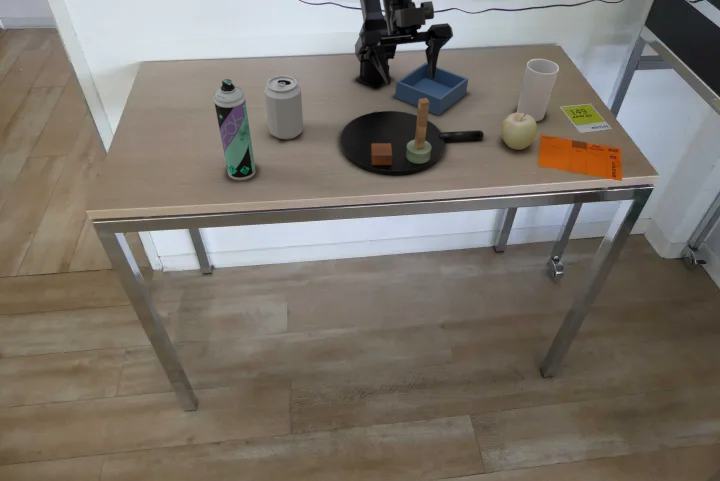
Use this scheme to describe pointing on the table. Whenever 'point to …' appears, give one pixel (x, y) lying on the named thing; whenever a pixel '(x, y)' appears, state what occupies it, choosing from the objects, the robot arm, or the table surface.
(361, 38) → the robot arm
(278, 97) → the can
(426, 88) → the bin
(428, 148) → the dish brush
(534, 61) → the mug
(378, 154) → the reddish brown square block
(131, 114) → the table surface
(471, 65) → the table surface
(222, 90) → the spray can
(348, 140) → the griddle pan
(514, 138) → the fruit
